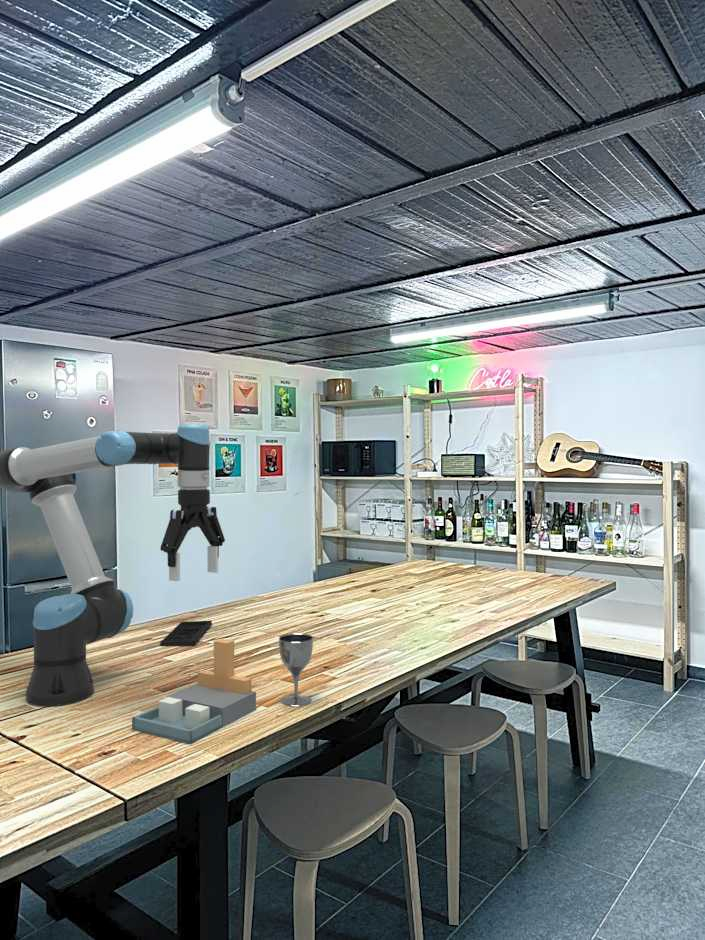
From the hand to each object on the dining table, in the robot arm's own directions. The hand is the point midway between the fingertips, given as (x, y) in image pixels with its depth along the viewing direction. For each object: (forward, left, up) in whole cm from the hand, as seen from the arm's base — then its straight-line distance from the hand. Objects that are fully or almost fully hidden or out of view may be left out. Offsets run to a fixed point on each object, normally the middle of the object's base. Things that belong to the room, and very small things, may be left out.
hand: (194, 576), depth 168 cm
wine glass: (+24, +8, -29) cm, 38 cm away
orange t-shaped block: (+11, -2, -25) cm, 27 cm away
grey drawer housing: (+11, -7, -29) cm, 32 cm away
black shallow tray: (-38, +44, -29) cm, 65 cm away
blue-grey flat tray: (+11, -18, -29) cm, 36 cm away
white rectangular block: (+15, -15, -26) cm, 34 cm away
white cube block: (+7, -14, -26) cm, 31 cm away
